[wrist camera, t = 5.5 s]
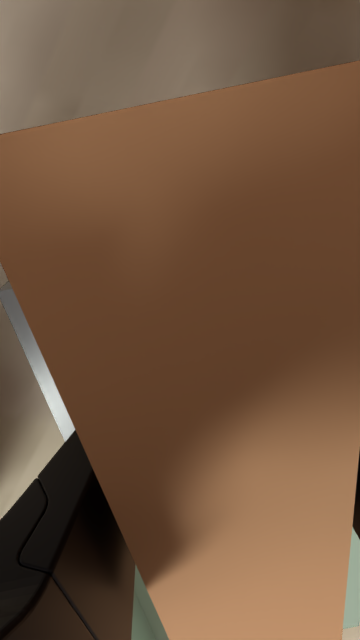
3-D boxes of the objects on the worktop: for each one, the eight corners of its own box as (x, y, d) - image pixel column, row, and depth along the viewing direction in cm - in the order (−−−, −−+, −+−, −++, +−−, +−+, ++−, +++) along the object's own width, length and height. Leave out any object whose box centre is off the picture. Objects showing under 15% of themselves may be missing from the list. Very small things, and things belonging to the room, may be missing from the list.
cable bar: (171, 494, 13) (185, 676, 8) (67, 151, 7) (-53, 145, 3) (272, 473, 13) (341, 643, 8) (243, 116, 7) (397, 53, 3)
